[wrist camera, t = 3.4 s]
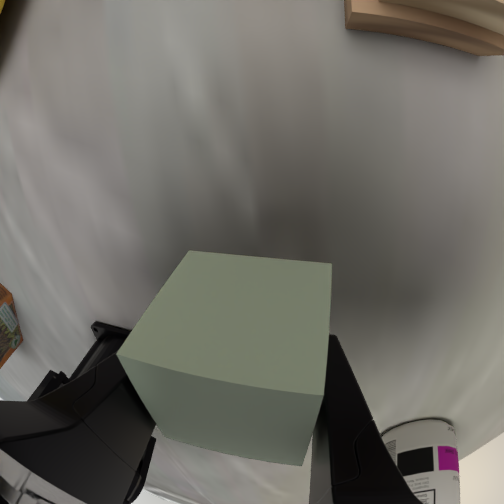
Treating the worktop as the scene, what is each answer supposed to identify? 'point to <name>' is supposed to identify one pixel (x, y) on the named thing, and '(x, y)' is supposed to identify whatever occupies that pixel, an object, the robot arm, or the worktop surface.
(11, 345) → the milk carton
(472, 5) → the maple block
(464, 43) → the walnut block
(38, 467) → the robot arm
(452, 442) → the supplement can
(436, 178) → the worktop surface
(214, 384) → the sage cube
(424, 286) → the worktop surface
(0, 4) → the teapot
